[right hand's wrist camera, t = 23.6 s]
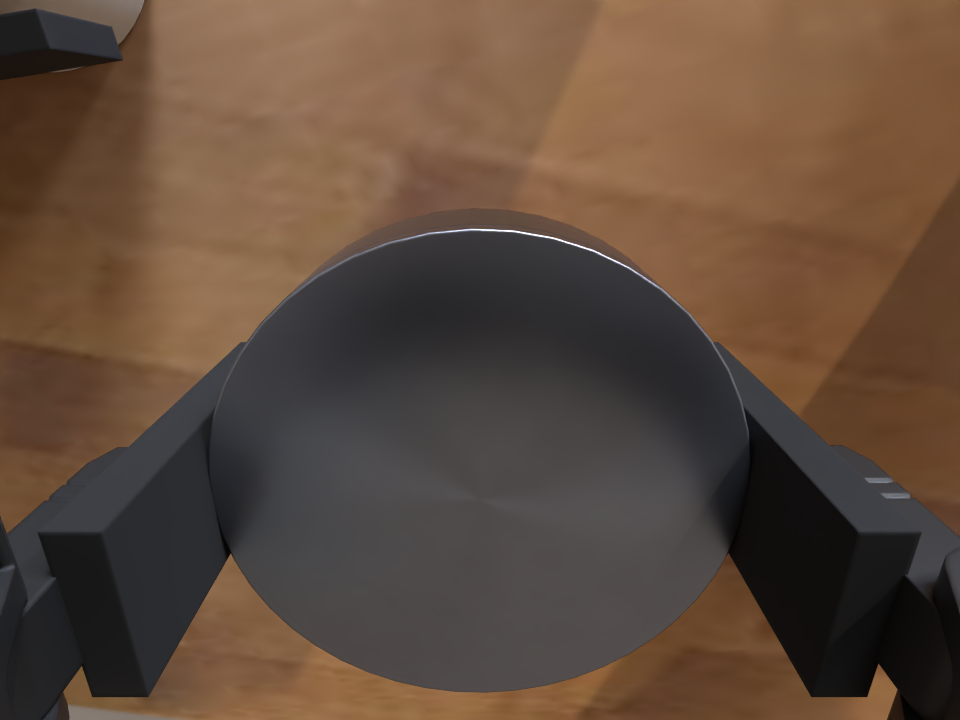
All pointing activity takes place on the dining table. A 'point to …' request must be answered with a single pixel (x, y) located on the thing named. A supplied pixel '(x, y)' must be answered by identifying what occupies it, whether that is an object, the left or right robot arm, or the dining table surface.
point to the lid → (479, 454)
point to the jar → (86, 12)
